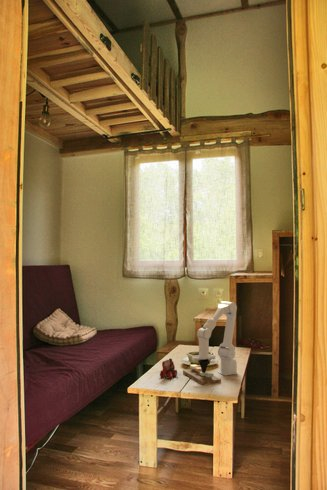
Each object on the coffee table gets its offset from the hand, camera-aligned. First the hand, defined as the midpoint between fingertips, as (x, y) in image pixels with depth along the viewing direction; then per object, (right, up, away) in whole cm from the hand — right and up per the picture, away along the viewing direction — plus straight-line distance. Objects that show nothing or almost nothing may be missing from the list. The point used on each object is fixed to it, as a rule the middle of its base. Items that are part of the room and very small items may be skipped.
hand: (203, 372), depth 234 cm
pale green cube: (0, -4, 0) cm, 4 cm away
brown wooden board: (-1, -4, +3) cm, 5 cm away
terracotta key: (-2, -3, +5) cm, 7 cm away
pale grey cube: (+2, -2, -6) cm, 7 cm away
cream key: (-5, -3, +11) cm, 12 cm away
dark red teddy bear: (-21, -4, +5) cm, 22 cm away
